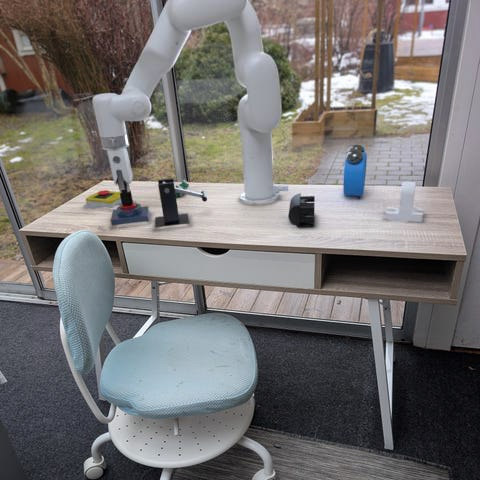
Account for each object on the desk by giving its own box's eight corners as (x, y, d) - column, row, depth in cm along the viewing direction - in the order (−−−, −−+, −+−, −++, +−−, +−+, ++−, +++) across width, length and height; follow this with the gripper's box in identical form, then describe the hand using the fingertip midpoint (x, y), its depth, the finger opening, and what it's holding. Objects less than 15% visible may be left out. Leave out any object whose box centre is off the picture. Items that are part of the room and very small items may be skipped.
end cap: (290, 215, 141) (289, 193, 137) (314, 215, 140) (314, 192, 136) (288, 228, 133) (288, 205, 129) (314, 228, 132) (314, 204, 128)
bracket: (188, 217, 146) (182, 175, 139) (189, 226, 140) (183, 183, 133) (155, 220, 145) (148, 179, 138) (155, 230, 139) (148, 187, 132)
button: (136, 206, 147) (135, 201, 146) (136, 211, 143) (135, 206, 142) (122, 208, 147) (121, 203, 146) (121, 213, 143) (120, 207, 142)
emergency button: (97, 186, 166) (132, 189, 160) (100, 198, 168) (134, 202, 162) (79, 195, 159) (115, 198, 153) (82, 207, 161) (118, 211, 155)
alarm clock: (362, 202, 146) (365, 152, 138) (341, 201, 148) (343, 152, 140) (364, 188, 156) (368, 141, 148) (345, 188, 158) (347, 141, 150)
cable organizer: (422, 221, 130) (427, 185, 125) (384, 219, 133) (388, 184, 128) (423, 215, 134) (428, 179, 129) (386, 212, 137) (390, 178, 132)
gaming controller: (172, 204, 163) (182, 192, 159) (164, 196, 162) (174, 184, 159) (182, 195, 170) (192, 183, 167) (174, 187, 169) (184, 176, 166)
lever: (204, 197, 142) (206, 190, 141) (206, 203, 138) (208, 195, 137) (161, 187, 139) (162, 179, 138) (161, 193, 134) (162, 185, 133)
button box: (149, 213, 151) (147, 200, 149) (149, 224, 144) (146, 209, 141) (114, 218, 150) (111, 204, 148) (112, 228, 143) (109, 214, 140)
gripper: (126, 146, 128) (139, 211, 138) (129, 135, 141) (141, 195, 151) (98, 149, 127) (113, 214, 137) (104, 137, 140) (117, 198, 150)
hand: (127, 204), depth 144 cm, fingers closed
